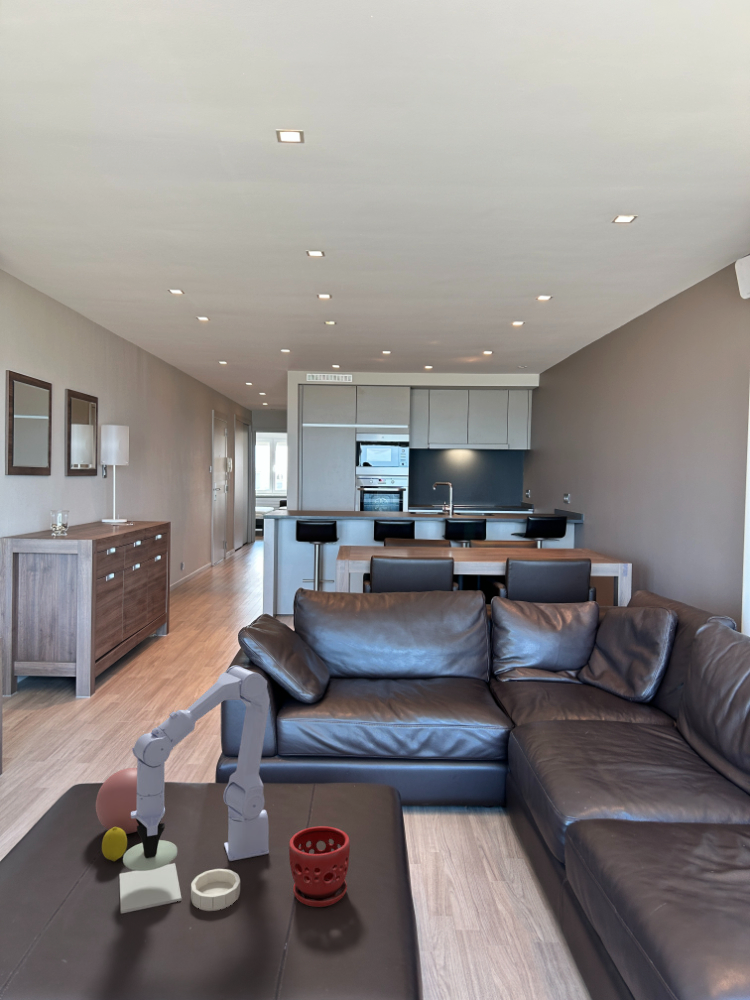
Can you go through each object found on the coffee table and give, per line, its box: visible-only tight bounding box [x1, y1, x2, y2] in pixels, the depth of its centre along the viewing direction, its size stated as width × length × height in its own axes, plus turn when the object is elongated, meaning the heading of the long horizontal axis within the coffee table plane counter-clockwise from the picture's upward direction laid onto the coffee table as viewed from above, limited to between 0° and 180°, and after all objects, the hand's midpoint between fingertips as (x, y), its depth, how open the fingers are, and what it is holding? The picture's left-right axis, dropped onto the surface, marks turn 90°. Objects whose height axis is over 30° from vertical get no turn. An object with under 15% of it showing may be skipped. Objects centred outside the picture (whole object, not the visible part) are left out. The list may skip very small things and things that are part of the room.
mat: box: [119, 862, 182, 914], centre depth 144 cm, size 12×14×1 cm
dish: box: [190, 868, 241, 912], centre depth 141 cm, size 10×10×3 cm
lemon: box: [101, 827, 128, 862], centre depth 154 cm, size 6×6×8 cm
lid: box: [122, 839, 178, 871], centre depth 143 cm, size 11×11×3 cm
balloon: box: [95, 767, 139, 835], centre depth 170 cm, size 15×20×15 cm
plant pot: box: [288, 825, 351, 908], centre depth 142 cm, size 13×13×12 cm
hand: (149, 852), depth 143 cm, fingers closed on lid, 3 cm apart
